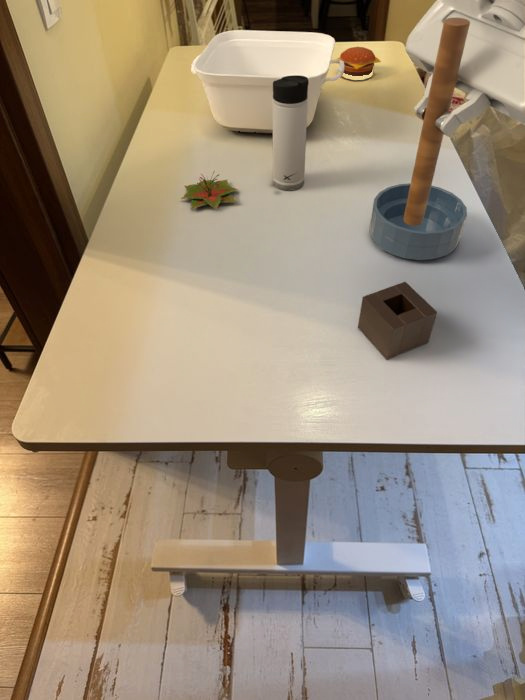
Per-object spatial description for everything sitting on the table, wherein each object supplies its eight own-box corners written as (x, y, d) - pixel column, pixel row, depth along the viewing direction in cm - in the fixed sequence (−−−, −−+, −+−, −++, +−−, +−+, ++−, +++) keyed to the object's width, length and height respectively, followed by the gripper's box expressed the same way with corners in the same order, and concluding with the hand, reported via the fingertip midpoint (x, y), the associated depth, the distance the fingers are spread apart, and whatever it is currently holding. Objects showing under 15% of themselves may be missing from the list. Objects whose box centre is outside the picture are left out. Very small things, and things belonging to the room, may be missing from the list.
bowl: (440, 209, 96) (448, 180, 92) (470, 259, 86) (481, 229, 82) (360, 216, 96) (364, 186, 91) (381, 267, 85) (387, 236, 81)
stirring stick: (419, 214, 66) (465, 16, 50) (425, 225, 64) (474, 24, 48) (401, 215, 66) (440, 18, 50) (406, 226, 64) (448, 25, 48)
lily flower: (175, 186, 104) (172, 164, 101) (233, 177, 106) (232, 156, 103) (184, 218, 96) (180, 196, 93) (247, 208, 98) (245, 186, 95)
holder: (398, 311, 78) (405, 281, 74) (428, 342, 74) (437, 312, 69) (357, 327, 76) (362, 296, 72) (386, 360, 72) (393, 329, 67)
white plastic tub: (343, 98, 131) (349, 33, 120) (334, 151, 112) (340, 79, 102) (213, 92, 136) (207, 28, 125) (183, 142, 117) (173, 72, 106)
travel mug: (291, 195, 101) (294, 87, 86) (266, 183, 104) (264, 78, 89) (311, 182, 104) (317, 76, 89) (286, 171, 107) (288, 67, 92)
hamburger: (355, 66, 146) (358, 40, 141) (380, 76, 141) (384, 49, 136) (330, 74, 142) (333, 47, 138) (355, 84, 137) (358, 57, 132)
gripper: (626, 59, 47) (507, 182, 52) (476, 3, 60) (391, 106, 64) (614, 9, 43) (484, 149, 47) (454, -40, 55) (365, 74, 60)
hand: (429, 124), depth 56 cm, fingers closed on stirring stick, 2 cm apart
